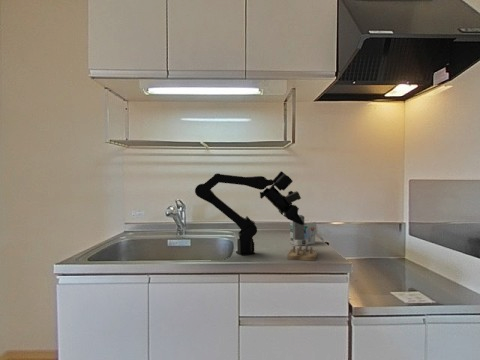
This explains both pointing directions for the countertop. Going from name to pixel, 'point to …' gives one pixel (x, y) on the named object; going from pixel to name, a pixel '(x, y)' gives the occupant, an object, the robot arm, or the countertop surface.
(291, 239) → the light bulb box
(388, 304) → the countertop surface
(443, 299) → the countertop surface
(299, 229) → the block
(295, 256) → the wooden peg board
